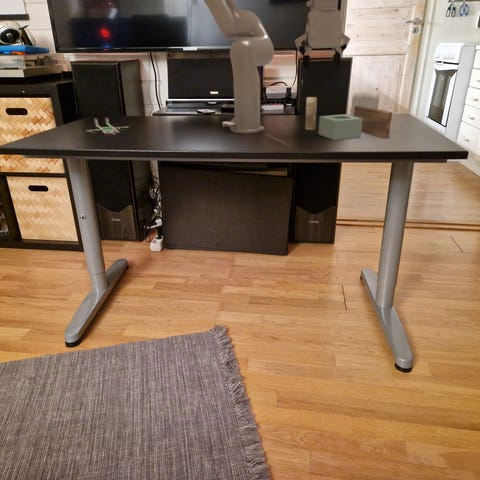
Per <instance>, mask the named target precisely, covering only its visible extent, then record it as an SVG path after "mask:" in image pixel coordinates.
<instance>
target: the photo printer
mask: <svg viewBox="0 0 480 480" xmlns="http://www.w3.org/2000/svg"><path fill="white" fill-rule="evenodd" d="M379 100H380V95H379V92H377V91H374V90H367V89H363V90H356V91H354V92H353V95H352V99H351V107H350V108H351V109H350V116H354V108H355V106H364V107H369V108H374V109H378V108H379ZM378 110H379V109H378Z"/></svg>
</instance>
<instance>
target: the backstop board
mask: <svg viewBox="0 0 480 480" xmlns="http://www.w3.org/2000/svg"><path fill="white" fill-rule="evenodd" d="M354 117H358V118H362V119H363V120H362V129H361V133H364V134H365V133H366V134H369V135H371V136H374V137H378V138H382V139H388V138H390V132H391V124H392V117H393V112H391V111H387V110H382V109H374V108H369V107H364V106H355V108H354Z"/></svg>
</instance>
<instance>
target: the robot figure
mask: <svg viewBox="0 0 480 480" xmlns="http://www.w3.org/2000/svg"><path fill="white" fill-rule="evenodd" d="M104 119H105V126H104V127H103V126H100V125H99V121H98V118H94V119H93V120H94V126H95V127H96V129H87V130H85V133H86V132H91V133H93V132H92V131H100V130H101V131H102V132H101V133H102V134H103V133H104V134H103V135H105V134H113V135H116V134H115V133H120V134H121V131H119V130H121V129H120V128H129V129H130V126H128V125H127V126H117V127H115V126H113V125H112V124H110V122H109V121H110V120H109V117H105V118H104ZM106 125H108V126H109V127H108V126H106ZM97 127H98V128H99V129H98V128H97ZM117 129H119V130H117Z"/></svg>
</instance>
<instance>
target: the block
mask: <svg viewBox="0 0 480 480" xmlns="http://www.w3.org/2000/svg"><path fill="white" fill-rule="evenodd" d="M362 120H363V119H362V118H358V117H354V116H351V114H346V113H344V114H334V115H333V114H332V115H321V116H319V121H318V122H319V124H318V135H319V136H321V137H324V138H327V139H329V140H332V141H339V140H348V139H349V140H351V139H357V138H360V139H361V135H362V132H361V129H362Z"/></svg>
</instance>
